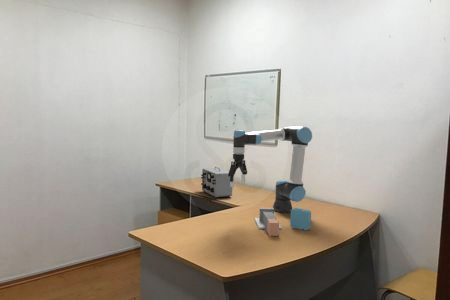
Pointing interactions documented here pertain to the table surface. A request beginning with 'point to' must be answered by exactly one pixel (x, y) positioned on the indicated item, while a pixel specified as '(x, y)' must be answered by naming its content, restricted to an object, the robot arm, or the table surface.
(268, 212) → the grey flanged post
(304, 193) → the robot arm
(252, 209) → the table surface
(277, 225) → the pink block
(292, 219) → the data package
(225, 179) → the vintage electronic device
